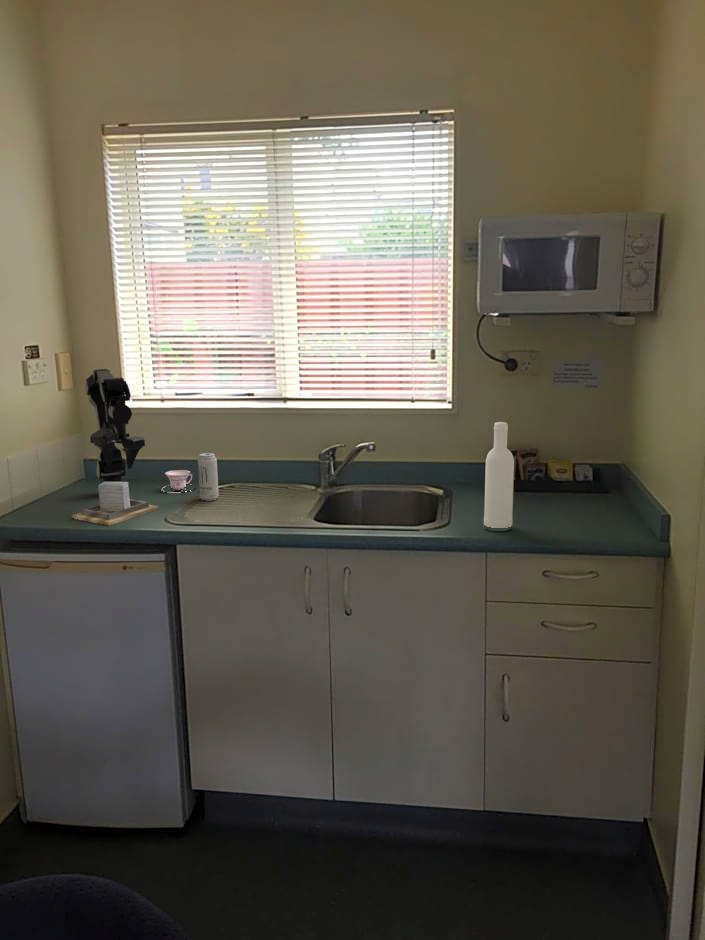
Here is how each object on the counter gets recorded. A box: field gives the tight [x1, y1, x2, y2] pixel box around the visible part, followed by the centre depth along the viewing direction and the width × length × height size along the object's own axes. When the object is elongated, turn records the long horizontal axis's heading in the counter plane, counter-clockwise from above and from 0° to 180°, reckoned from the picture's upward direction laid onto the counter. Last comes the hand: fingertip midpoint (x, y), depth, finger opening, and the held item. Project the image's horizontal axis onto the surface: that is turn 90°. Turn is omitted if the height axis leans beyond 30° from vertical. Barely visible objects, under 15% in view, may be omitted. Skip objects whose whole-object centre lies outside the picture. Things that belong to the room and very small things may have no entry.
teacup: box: [160, 469, 194, 494], centre depth 264 cm, size 12×12×6 cm
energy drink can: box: [197, 452, 220, 502], centre depth 249 cm, size 6×6×15 cm
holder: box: [71, 498, 160, 526], centre depth 235 cm, size 16×20×2 cm
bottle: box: [483, 421, 515, 528], centre depth 212 cm, size 8×8×30 cm
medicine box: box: [97, 481, 131, 512], centre depth 234 cm, size 8×4×9 cm, turn 83°
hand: (119, 466), depth 243 cm, fingers open, 9 cm apart
